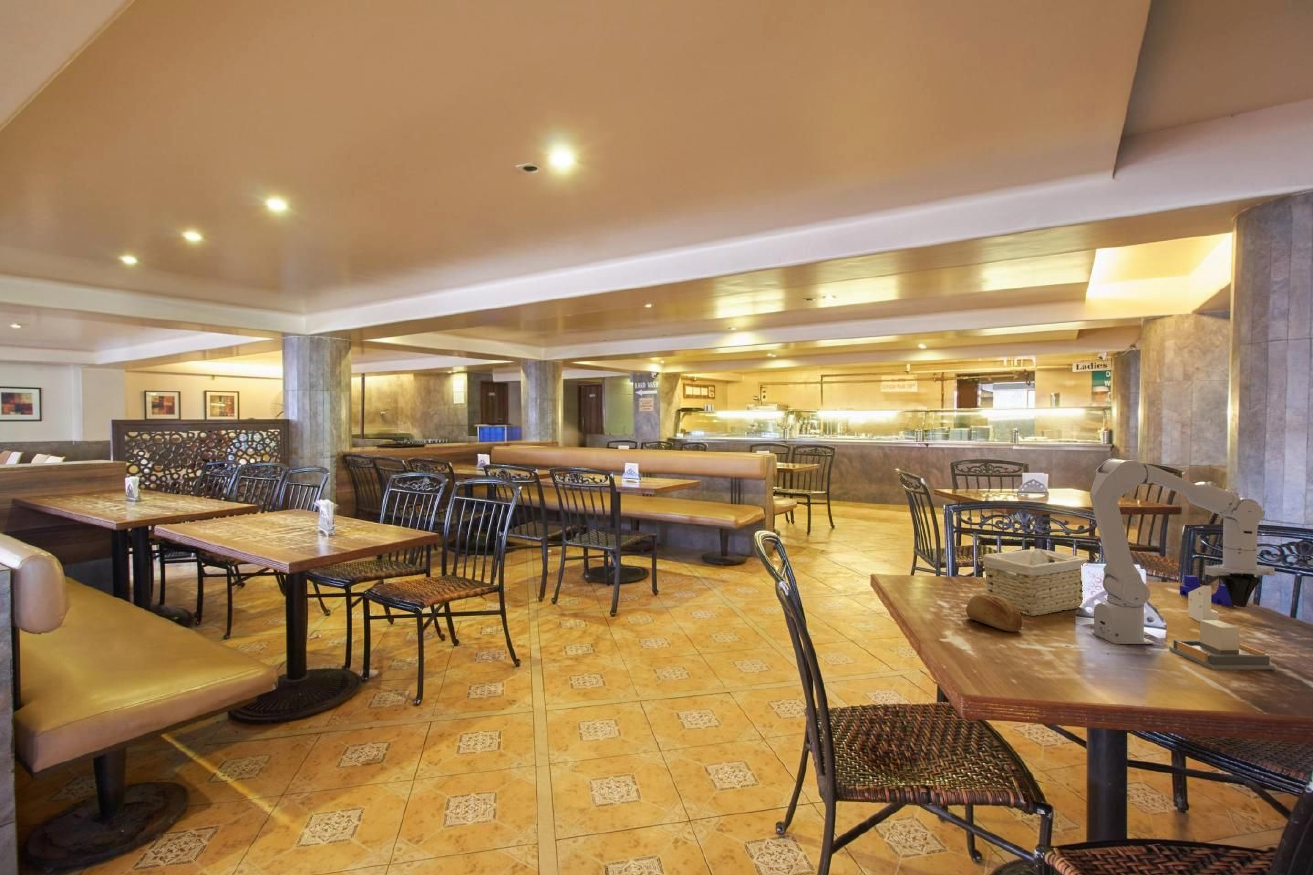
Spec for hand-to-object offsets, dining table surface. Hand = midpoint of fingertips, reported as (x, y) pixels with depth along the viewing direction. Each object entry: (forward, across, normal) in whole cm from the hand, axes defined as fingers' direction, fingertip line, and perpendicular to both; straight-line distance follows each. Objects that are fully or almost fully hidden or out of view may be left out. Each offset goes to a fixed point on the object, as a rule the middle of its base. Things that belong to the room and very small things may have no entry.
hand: (1238, 605), depth 140 cm
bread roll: (+10, -49, +16) cm, 52 cm away
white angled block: (+10, +10, +20) cm, 24 cm away
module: (+8, -11, -7) cm, 15 cm away
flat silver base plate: (+9, -11, -7) cm, 16 cm away
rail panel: (+10, -11, -7) cm, 16 cm away
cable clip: (+10, +28, +39) cm, 49 cm away
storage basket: (+10, -27, +33) cm, 44 cm away
